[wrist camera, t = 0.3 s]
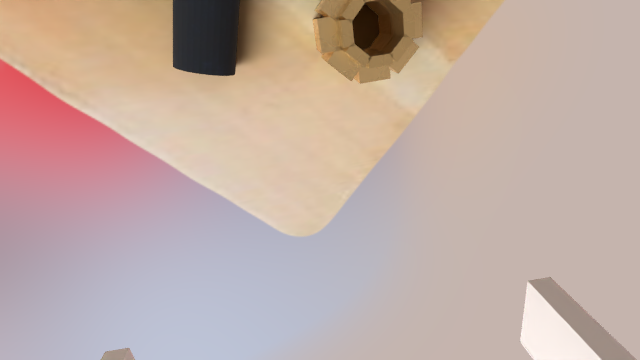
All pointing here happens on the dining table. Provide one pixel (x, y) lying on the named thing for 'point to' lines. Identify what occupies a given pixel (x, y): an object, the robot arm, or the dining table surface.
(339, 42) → the brass stepped collar
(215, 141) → the dining table surface
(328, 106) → the dining table surface
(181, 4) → the pipe connector
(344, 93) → the dining table surface
